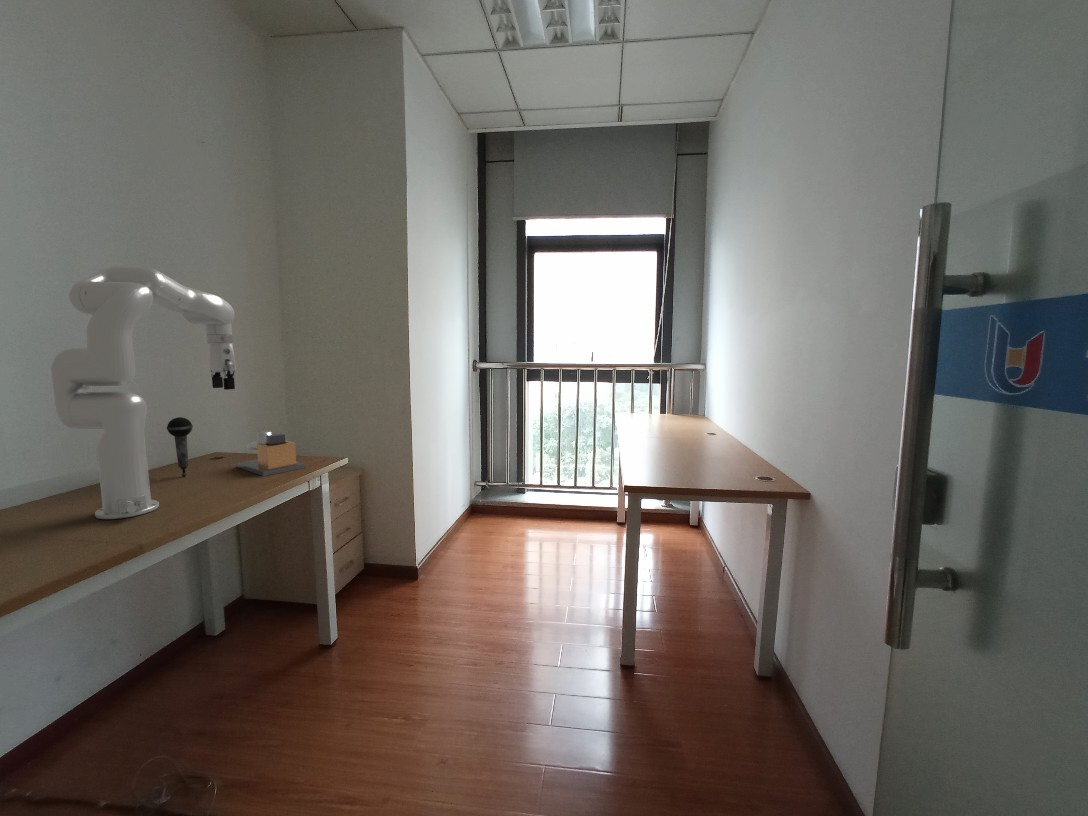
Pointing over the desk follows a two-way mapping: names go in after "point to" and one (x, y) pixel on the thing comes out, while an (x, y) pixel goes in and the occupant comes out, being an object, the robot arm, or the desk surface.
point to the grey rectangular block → (275, 439)
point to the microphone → (180, 439)
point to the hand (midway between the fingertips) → (223, 388)
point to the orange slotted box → (271, 457)
